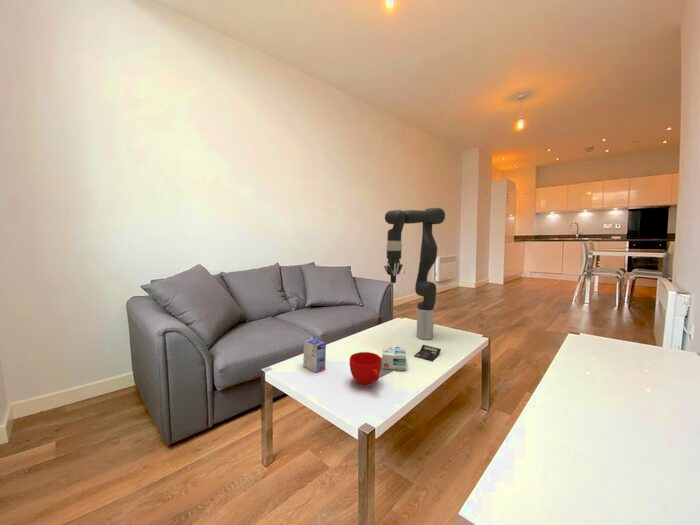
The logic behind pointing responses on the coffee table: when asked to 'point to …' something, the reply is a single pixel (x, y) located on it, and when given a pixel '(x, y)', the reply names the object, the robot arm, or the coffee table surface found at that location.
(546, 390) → the coffee table surface
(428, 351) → the calculator
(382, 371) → the mat
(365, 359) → the ceramic cup
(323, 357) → the ink cartridge box
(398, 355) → the light bulb box
